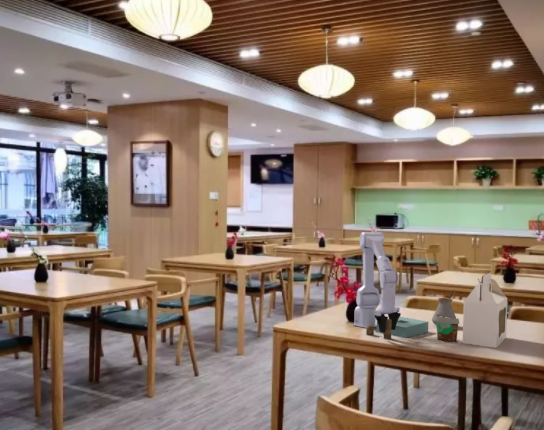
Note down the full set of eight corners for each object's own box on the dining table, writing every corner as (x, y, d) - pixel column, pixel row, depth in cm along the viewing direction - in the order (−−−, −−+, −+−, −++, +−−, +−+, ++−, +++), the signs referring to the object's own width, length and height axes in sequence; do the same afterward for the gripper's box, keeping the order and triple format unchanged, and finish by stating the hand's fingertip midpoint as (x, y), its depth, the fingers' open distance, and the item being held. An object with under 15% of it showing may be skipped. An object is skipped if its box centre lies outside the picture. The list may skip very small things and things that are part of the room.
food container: (428, 337, 246) (428, 314, 246) (440, 336, 248) (440, 313, 248) (446, 343, 235) (447, 319, 234) (458, 342, 237) (459, 318, 237)
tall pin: (381, 338, 243) (382, 319, 242) (386, 337, 245) (386, 318, 245) (388, 339, 240) (388, 320, 240) (392, 338, 243) (393, 319, 242)
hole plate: (376, 331, 255) (376, 321, 255) (399, 326, 268) (399, 316, 267) (405, 337, 244) (406, 327, 244) (428, 331, 257) (428, 321, 257)
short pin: (364, 334, 249) (364, 325, 249) (369, 333, 251) (369, 324, 251) (370, 335, 247) (370, 326, 247) (375, 334, 249) (375, 325, 249)
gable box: (474, 333, 255) (476, 270, 254) (506, 337, 248) (508, 273, 247) (462, 343, 236) (464, 275, 235) (496, 348, 229) (498, 278, 228)
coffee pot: (454, 330, 261) (454, 297, 261) (428, 327, 267) (429, 294, 267) (464, 322, 279) (465, 291, 279) (440, 319, 285) (441, 289, 285)
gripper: (386, 301, 234) (385, 334, 235) (405, 298, 244) (405, 329, 245) (371, 299, 239) (371, 332, 240) (391, 296, 249) (391, 327, 250)
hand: (387, 330), depth 243 cm, fingers open, 7 cm apart
